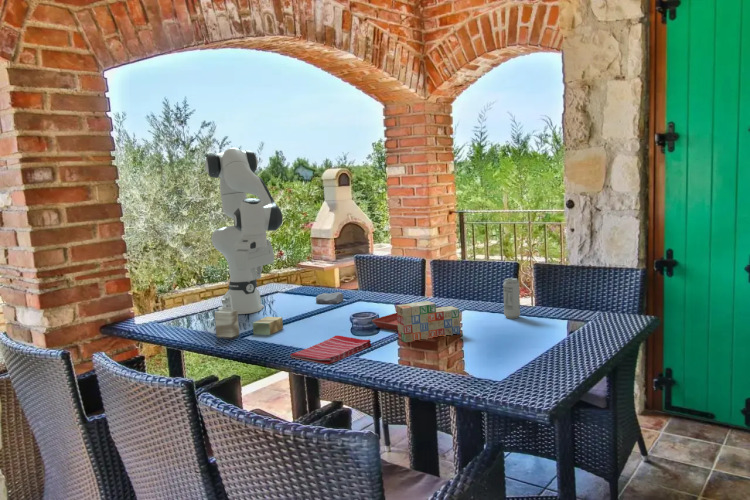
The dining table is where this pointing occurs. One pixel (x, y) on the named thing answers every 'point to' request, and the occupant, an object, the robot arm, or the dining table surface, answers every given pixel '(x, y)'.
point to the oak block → (267, 325)
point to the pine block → (227, 324)
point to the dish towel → (332, 350)
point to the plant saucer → (387, 322)
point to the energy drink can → (511, 298)
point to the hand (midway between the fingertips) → (257, 278)
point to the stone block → (329, 298)
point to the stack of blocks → (426, 321)
